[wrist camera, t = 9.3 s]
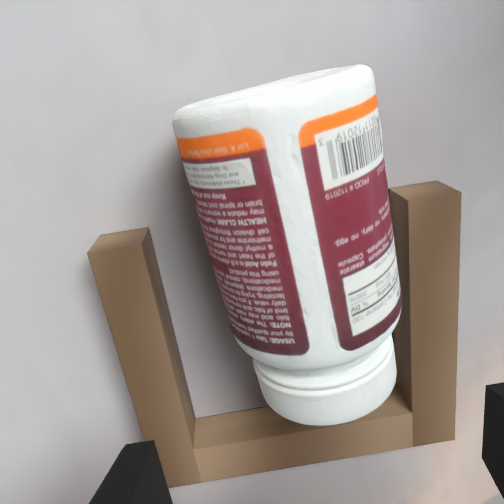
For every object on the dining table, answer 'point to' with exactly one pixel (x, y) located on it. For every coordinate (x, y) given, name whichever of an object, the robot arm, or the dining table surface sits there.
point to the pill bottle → (301, 236)
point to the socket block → (266, 419)
